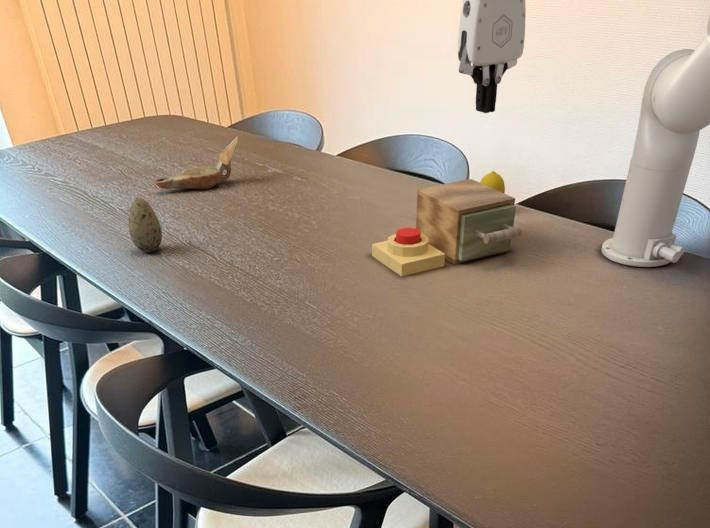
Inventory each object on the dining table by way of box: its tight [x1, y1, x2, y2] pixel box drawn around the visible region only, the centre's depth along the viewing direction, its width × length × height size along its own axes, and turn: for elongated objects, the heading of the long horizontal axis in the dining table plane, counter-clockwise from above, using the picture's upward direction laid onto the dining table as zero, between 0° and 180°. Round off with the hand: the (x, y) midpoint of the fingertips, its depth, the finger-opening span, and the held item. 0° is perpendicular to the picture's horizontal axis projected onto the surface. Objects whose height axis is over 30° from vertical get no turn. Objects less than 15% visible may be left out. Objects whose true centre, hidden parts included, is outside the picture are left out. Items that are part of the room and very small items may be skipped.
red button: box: [395, 227, 421, 245], centre depth 121 cm, size 4×4×2 cm
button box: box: [371, 233, 446, 277], centre depth 122 cm, size 11×9×4 cm
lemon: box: [479, 170, 506, 194], centre depth 140 cm, size 6×6×8 cm
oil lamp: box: [154, 135, 239, 190], centre depth 158 cm, size 9×21×10 cm, turn 114°
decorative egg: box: [128, 197, 163, 253], centre depth 128 cm, size 6×6×10 cm
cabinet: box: [415, 178, 516, 265], centre depth 125 cm, size 14×12×10 cm
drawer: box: [458, 204, 522, 261], centre depth 122 cm, size 17×11×8 cm, turn 27°
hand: (485, 110), depth 112 cm, fingers closed
